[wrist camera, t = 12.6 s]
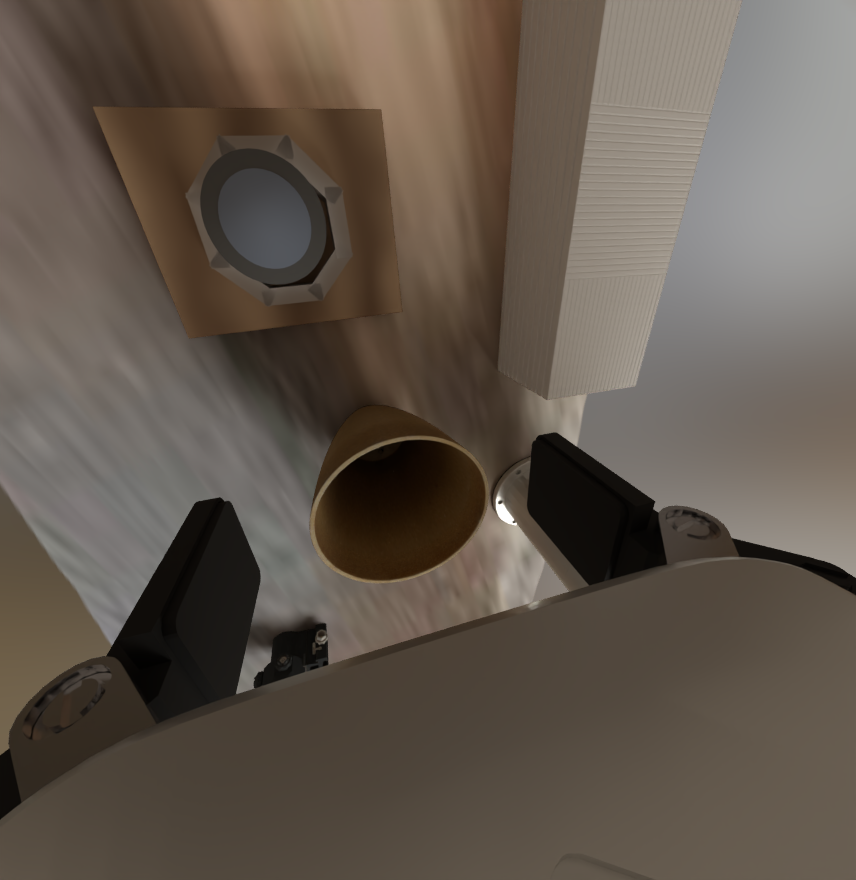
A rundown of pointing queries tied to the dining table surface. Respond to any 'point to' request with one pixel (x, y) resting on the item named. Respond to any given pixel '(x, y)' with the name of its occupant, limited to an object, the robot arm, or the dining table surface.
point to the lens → (263, 216)
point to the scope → (295, 655)
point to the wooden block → (320, 161)
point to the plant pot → (394, 497)
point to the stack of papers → (601, 180)
